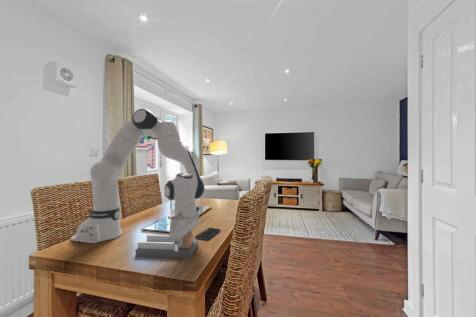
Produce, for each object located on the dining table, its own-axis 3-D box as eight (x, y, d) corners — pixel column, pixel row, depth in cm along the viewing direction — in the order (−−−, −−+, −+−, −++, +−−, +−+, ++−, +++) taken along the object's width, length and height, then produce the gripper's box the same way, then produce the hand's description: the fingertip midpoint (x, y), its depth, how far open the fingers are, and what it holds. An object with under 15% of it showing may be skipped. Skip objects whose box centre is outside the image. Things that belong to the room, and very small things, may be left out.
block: (177, 247, 89) (177, 238, 89) (181, 242, 94) (181, 233, 94) (189, 247, 88) (189, 238, 88) (192, 242, 93) (192, 234, 93)
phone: (194, 237, 105) (208, 227, 119) (194, 239, 105) (208, 229, 119) (208, 239, 102) (221, 229, 116) (208, 241, 102) (221, 231, 116)
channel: (135, 256, 86) (135, 244, 86) (149, 244, 98) (149, 233, 98) (190, 257, 85) (190, 245, 85) (197, 245, 97) (197, 234, 97)
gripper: (180, 218, 80) (180, 254, 80) (201, 205, 100) (201, 234, 100) (165, 217, 82) (165, 252, 82) (188, 205, 101) (188, 233, 102)
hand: (185, 242), depth 91 cm, fingers closed on block, 5 cm apart
